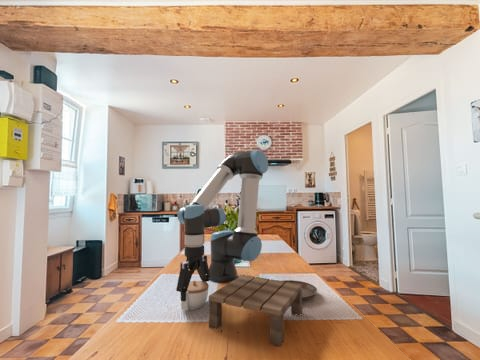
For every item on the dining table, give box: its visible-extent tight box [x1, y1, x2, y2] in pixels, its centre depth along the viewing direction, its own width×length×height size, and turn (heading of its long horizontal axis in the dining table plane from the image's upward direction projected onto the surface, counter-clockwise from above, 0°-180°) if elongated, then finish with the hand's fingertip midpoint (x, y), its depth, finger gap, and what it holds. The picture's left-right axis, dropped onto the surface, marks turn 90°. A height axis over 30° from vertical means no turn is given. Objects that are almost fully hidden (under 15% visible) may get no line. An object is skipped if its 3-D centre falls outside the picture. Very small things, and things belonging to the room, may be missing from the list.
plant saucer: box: [283, 279, 318, 303], centre depth 113 cm, size 21×21×3 cm
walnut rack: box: [208, 274, 303, 347], centre depth 92 cm, size 24×24×10 cm
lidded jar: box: [184, 280, 210, 310], centre depth 103 cm, size 11×11×9 cm
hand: (194, 303), depth 103 cm, fingers closed on lidded jar, 11 cm apart
